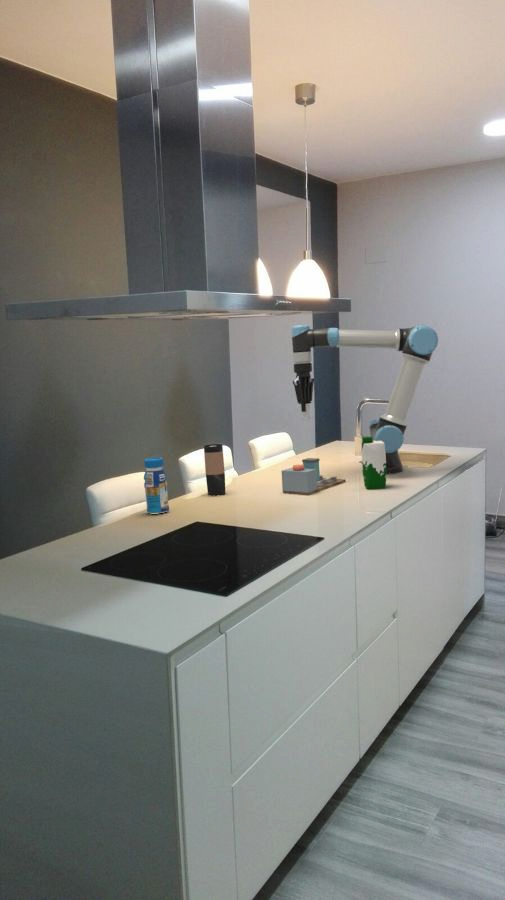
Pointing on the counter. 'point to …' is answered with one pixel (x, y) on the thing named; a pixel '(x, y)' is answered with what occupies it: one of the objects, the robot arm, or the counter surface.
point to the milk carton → (373, 463)
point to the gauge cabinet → (299, 480)
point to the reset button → (298, 467)
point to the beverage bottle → (155, 486)
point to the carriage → (312, 465)
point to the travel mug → (214, 469)
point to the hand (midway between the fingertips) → (305, 419)
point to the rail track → (321, 485)
